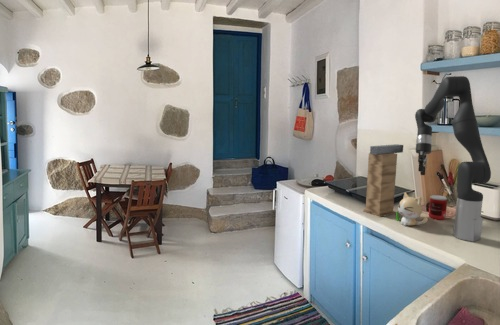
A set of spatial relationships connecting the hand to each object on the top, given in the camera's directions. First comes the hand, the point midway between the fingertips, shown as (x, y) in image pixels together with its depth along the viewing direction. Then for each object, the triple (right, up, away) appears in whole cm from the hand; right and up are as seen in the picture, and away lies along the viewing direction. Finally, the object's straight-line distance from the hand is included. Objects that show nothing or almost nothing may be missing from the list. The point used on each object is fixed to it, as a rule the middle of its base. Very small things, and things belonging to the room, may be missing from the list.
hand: (421, 173), depth 181 cm
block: (-19, +11, -2) cm, 22 cm away
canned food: (+4, -23, -7) cm, 24 cm away
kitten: (-16, -24, -17) cm, 34 cm away
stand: (-22, -21, +2) cm, 31 cm away
